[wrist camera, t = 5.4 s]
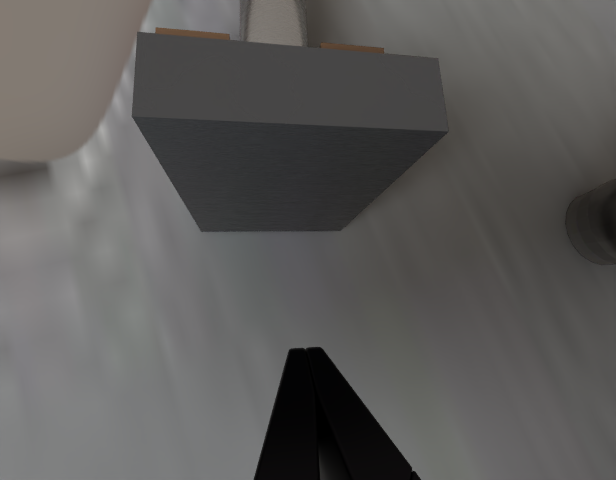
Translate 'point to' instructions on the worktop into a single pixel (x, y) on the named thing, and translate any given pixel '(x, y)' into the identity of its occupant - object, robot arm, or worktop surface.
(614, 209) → the beverage cup
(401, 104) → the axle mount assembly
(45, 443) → the worktop surface
